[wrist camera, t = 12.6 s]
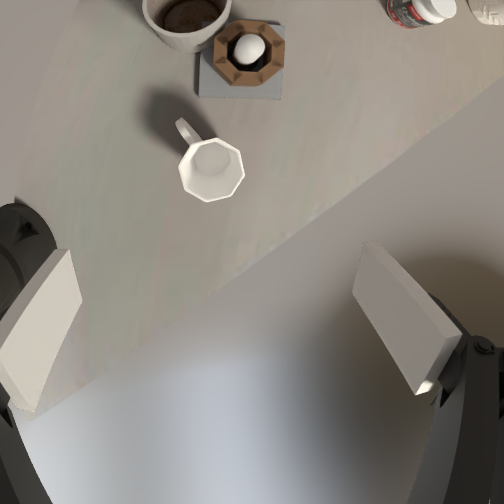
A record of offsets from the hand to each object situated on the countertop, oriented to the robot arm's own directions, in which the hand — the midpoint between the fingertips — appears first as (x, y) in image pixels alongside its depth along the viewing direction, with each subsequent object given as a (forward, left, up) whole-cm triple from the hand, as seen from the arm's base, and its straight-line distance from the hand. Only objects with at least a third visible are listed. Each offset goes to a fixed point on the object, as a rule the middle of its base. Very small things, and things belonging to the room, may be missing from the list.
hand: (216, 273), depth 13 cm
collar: (+3, +13, -28) cm, 31 cm away
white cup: (+44, +34, -29) cm, 62 cm away
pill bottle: (+26, +25, -29) cm, 46 cm away
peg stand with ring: (+3, +13, -29) cm, 31 cm away
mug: (-2, +19, -29) cm, 35 cm away
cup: (-1, +1, -29) cm, 29 cm away
